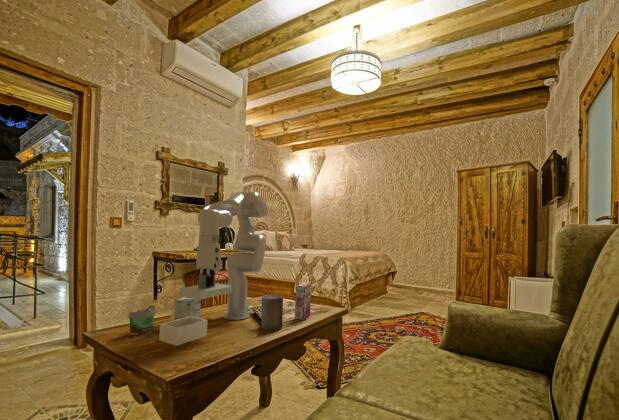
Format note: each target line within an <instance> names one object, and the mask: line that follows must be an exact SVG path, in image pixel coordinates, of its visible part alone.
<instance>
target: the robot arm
mask: <svg viewBox="0 0 619 420" xmlns="http://www.w3.org/2000/svg"><path fill="white" fill-rule="evenodd" d="M268 212H269V208H268V205H267V203H266V201H265V199H264V198H263V196H261V195H260V193H258V192H257V191H238V192H235V193H234V194H232V195H231V196H230V197H228V198H227V199H225V200H220V201H217V202H213V203H211V204H208V205H206V206H205V207H203V208H202V209H201V210H200V211H199V213H198V216H197V221H198V224H199V233H198V235H199V236H198V244H197V245H198V246H197V248H196V249H197V250H196V261H195V262H196V263H195V264H196V269H197V270H198V272H199V275H204V274H208V277H207V278H206V287H211V286H213V284H214V276H215V277H216V274H217V273H218V272H220V268H221V266H222V251H221V245H220V243H219V241H220V237H219V236H220V228H227V227H229V226H231V224H233V221H234V217H235V216H236V218H237V220H238V221H237V222H238V229H237V230H238V231H237V234H236V237H235V242H234V248H235V250H236V251H237V252H233V253H230V254H229V255H228V257H227V258H226V266H227V285H229V286H233V291H232V292H231V293H227V301H226V302H227V303H226V312H225V313H224V314H223V315H222V316H223V319H225V320H230V321H241V320H246V319H248V318H250V313H249V311H251V310H253V305H249V306H248V303H247V302H248V278H247V276H246V274H245V273H249V274H250V273H253V274H255V273H256V274H257V273H259V272H260V271H261V270H262V268H263V263H264V259H265V253H266V247H267V240H266V238H265V236H264V235H263V234H258V233H255V232H256V227H255V224H254V222H253V221H252V219H250V218H264V217H266V216H267V214H268Z"/></svg>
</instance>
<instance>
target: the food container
mask: <svg viewBox="0 0 619 420" xmlns="http://www.w3.org/2000/svg"><path fill="white" fill-rule="evenodd" d="M156 314H157V309H156V306H154V305H149V307H147V308H144V309H143V308H141V309H139V310H138V311H129V313H128V318H129V335H130V336H131V335H132V336H134V335H135V336H137V335H138V336H139V335H145V334H148V333H151V332H152V331H153V326H154V320H155V315H156Z"/></svg>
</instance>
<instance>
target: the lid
mask: <svg viewBox="0 0 619 420" xmlns="http://www.w3.org/2000/svg"><path fill="white" fill-rule="evenodd" d="M207 277H208V273H207V274H204V275H200V274H199V275H198V284H197V285H196V284H195V285H192V286H191V285H190V286H186V287H180V288H179V289H178V290H179V291H178V292H179V293H178V295H179V296H183V297H190V298H195V299H199V300H200V299H201V300H204V299H210V298H213V297H218V296H222V295H225V294H226V295H228V293H231V292H232V291H233V286H229V285H228V284H222V283H217V282H216V275H215V276H214V284H213V286H211V287H206V278H207Z"/></svg>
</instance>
